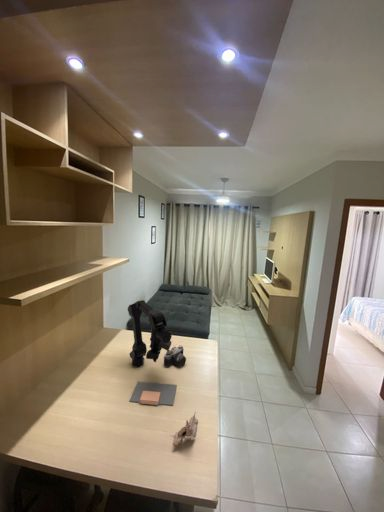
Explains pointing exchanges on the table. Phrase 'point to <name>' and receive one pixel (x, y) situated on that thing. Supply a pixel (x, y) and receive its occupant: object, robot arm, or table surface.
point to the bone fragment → (186, 431)
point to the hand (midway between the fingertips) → (155, 361)
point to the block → (150, 397)
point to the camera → (174, 357)
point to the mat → (165, 391)
